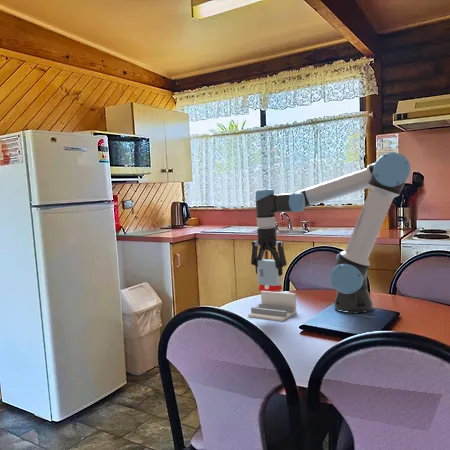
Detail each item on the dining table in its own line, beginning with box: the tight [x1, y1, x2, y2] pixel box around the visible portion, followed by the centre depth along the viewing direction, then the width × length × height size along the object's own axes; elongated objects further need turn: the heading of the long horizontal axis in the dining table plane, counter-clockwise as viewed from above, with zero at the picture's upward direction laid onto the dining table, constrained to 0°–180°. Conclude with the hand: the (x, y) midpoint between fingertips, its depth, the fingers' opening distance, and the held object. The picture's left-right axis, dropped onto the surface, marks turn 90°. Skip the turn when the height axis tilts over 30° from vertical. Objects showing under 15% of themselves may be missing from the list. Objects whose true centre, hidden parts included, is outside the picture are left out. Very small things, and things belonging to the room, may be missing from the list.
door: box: [258, 258, 280, 286], centre depth 170 cm, size 8×4×10 cm, turn 54°
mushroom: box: [258, 280, 283, 292], centre depth 189 cm, size 11×11×12 cm
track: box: [247, 291, 298, 322], centre depth 171 cm, size 16×12×8 cm
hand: (269, 282), depth 171 cm, fingers closed on door, 8 cm apart
